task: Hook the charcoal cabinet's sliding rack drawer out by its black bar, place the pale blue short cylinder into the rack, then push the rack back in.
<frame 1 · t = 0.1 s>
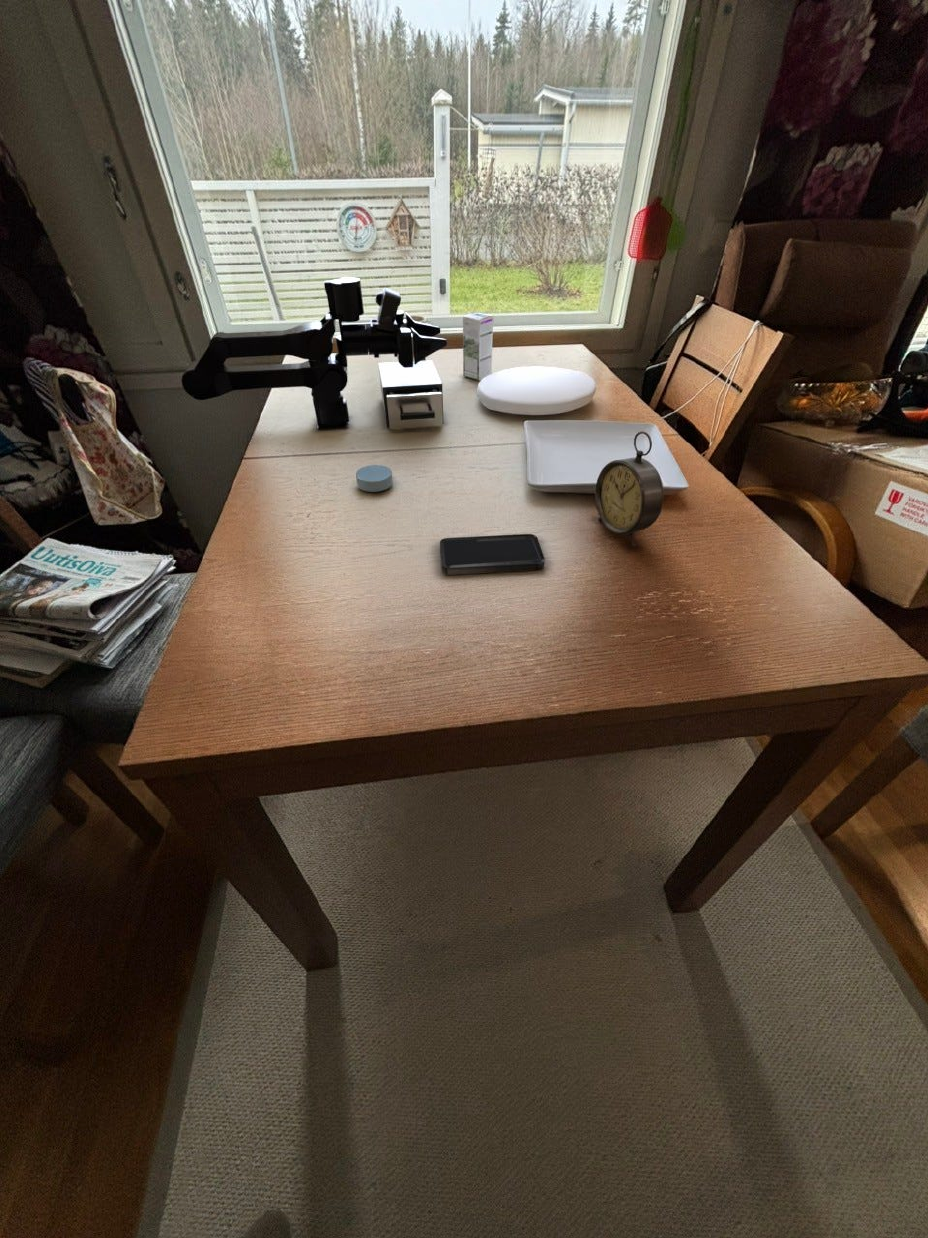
hand: (443, 335, 104), 17 cm above the table, tool horizontal, fingers open, 9 cm apart
square plate: (594, 468, 97), on the table
syrup box: (477, 377, 136), on the table
character mug: (415, 373, 138), on the table
drawer: (413, 402, 110), point 4 cm above the table, slide at 2.0 cm
phone: (490, 557, 75), on the table
alarm clock: (620, 533, 81), on the table
pale blue short cylinder: (375, 486, 91), on the table
white rounded disc: (534, 403, 122), on the table
cabinet: (411, 412, 117), on the table
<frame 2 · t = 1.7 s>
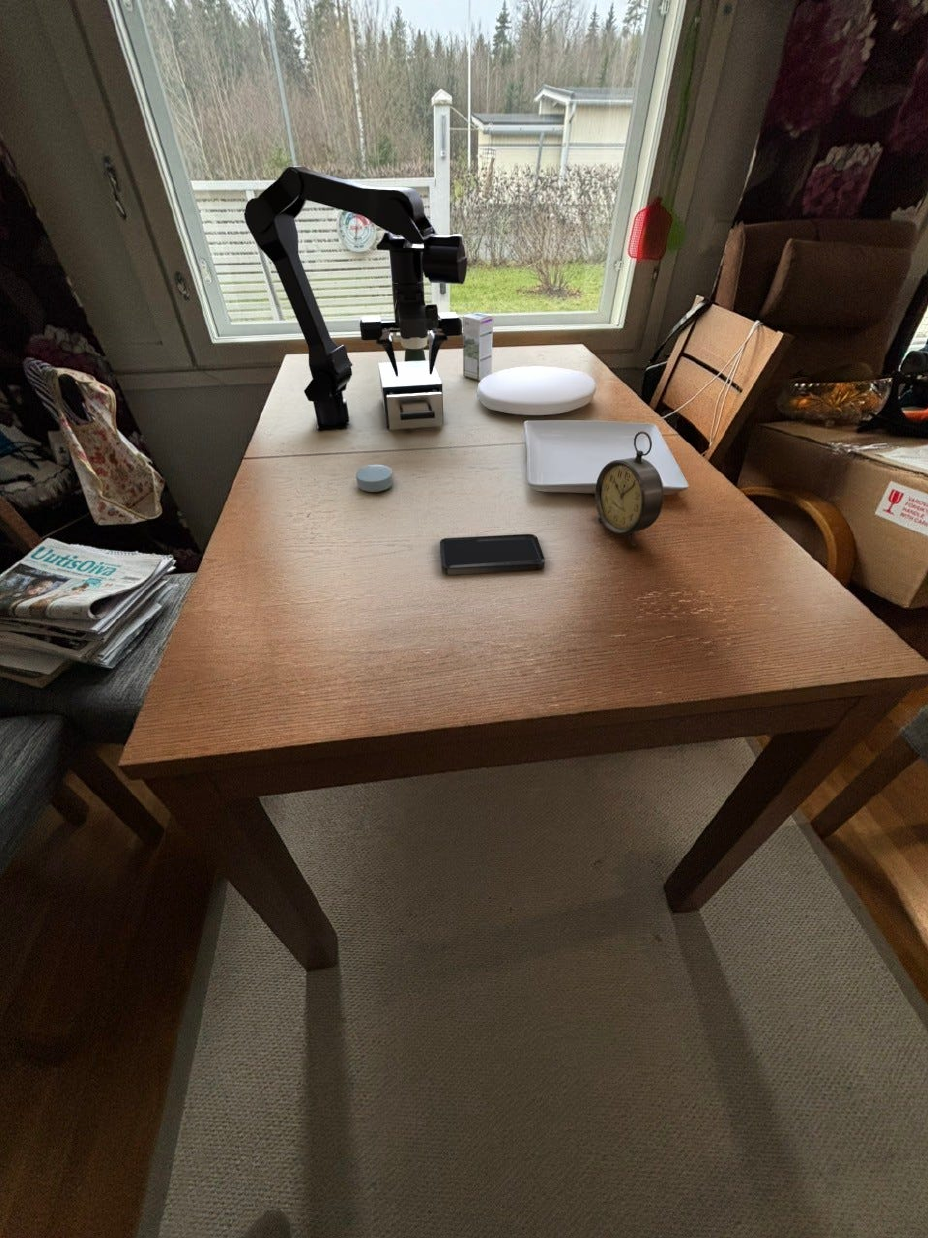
hand: (413, 374, 100), 12 cm above the table, tool pointing down, fingers open, 6 cm apart
nothing on the table moved.
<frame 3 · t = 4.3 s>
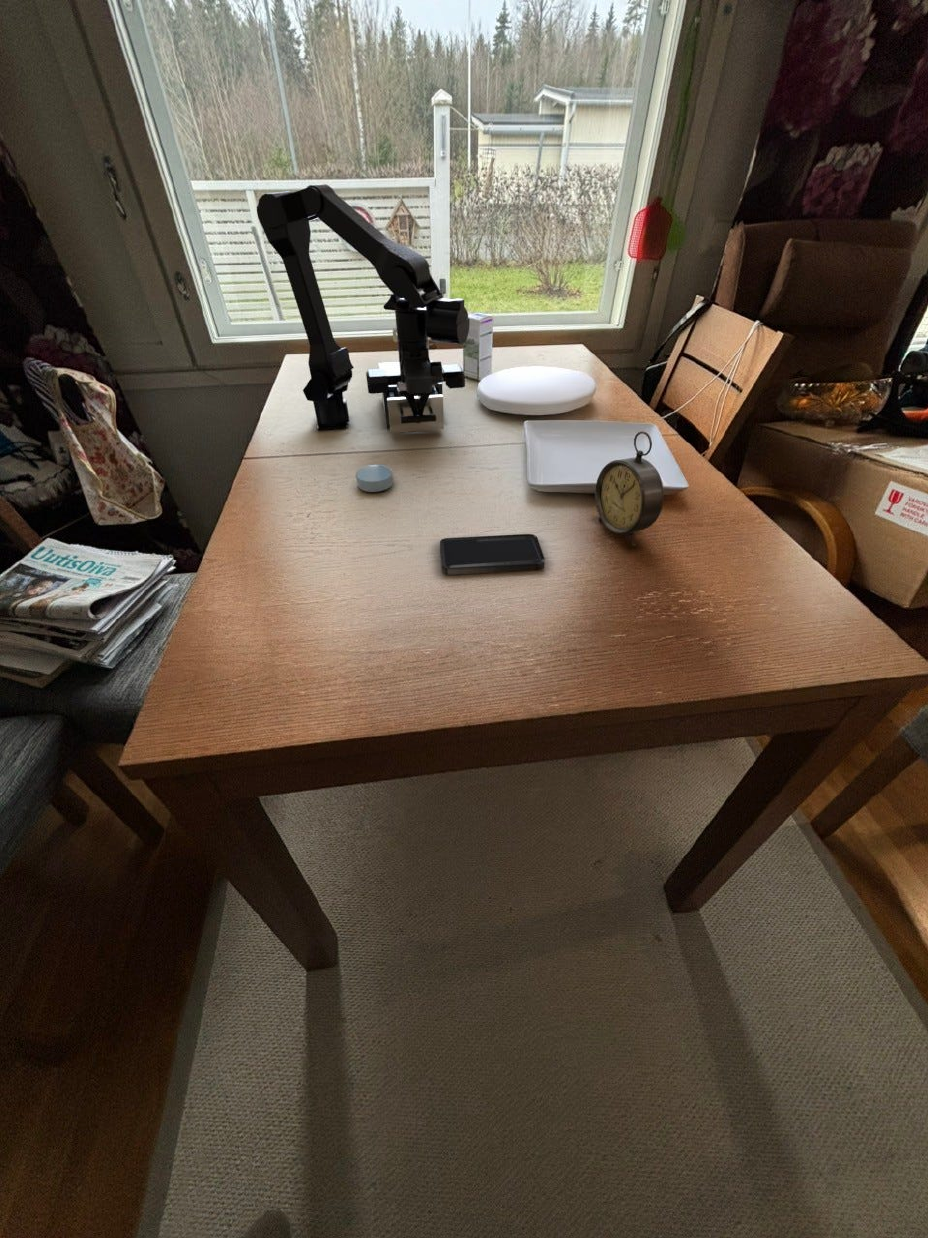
hand: (418, 422, 103), 4 cm above the table, tool pointing down, fingers closed, pressing on drawer
drawer: (413, 405, 108), point 4 cm above the table, slide at 3.7 cm, touching gripper
everything else where it was.
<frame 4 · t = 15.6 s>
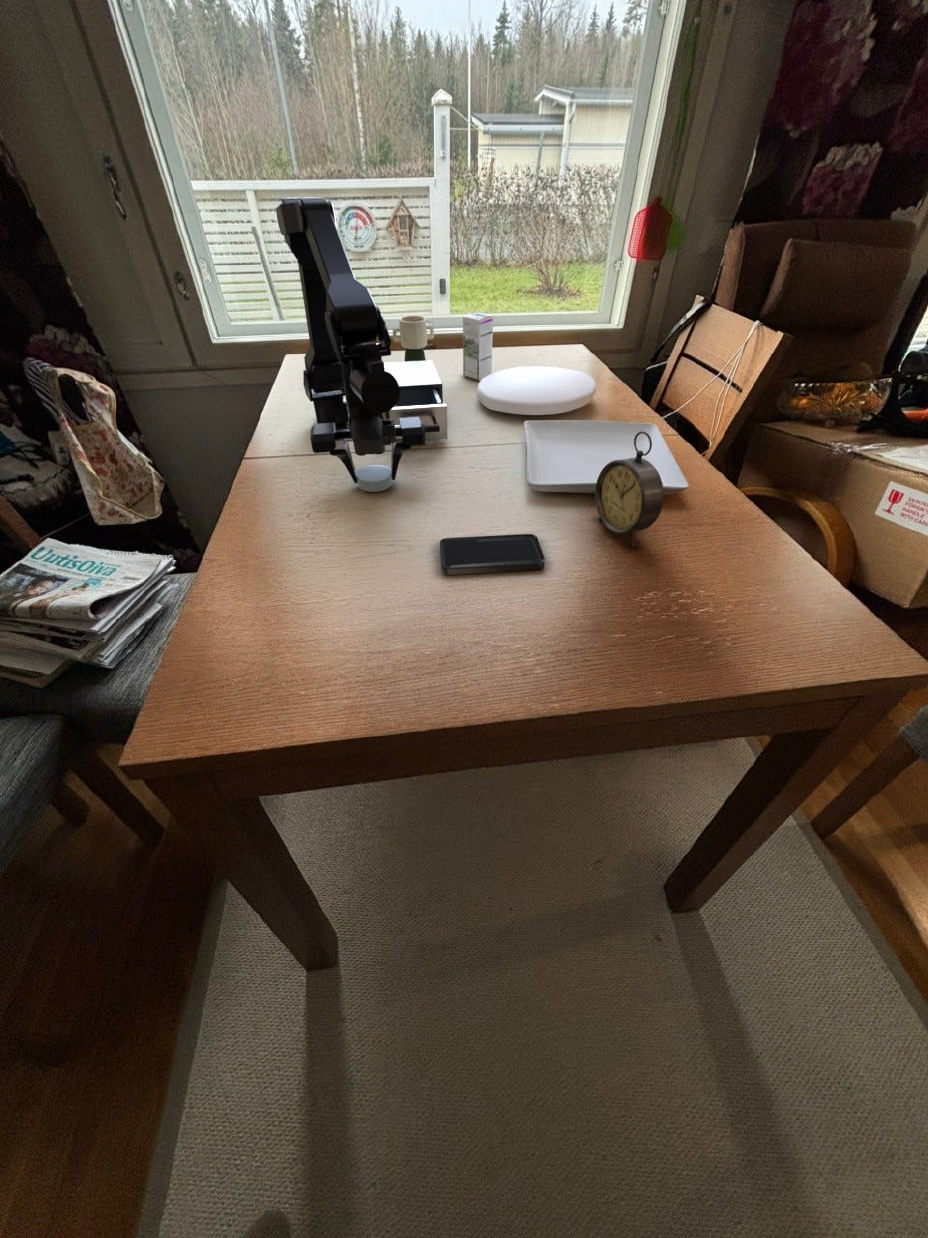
hand: (374, 480, 91), 1 cm above the table, tool pointing down, fingers closed on pale blue short cylinder, 6 cm apart
drawer: (416, 414, 105), point 4 cm above the table, slide at 8.9 cm
pale blue short cylinder: (375, 486, 91), on the table, touching gripper
everything else where it was.
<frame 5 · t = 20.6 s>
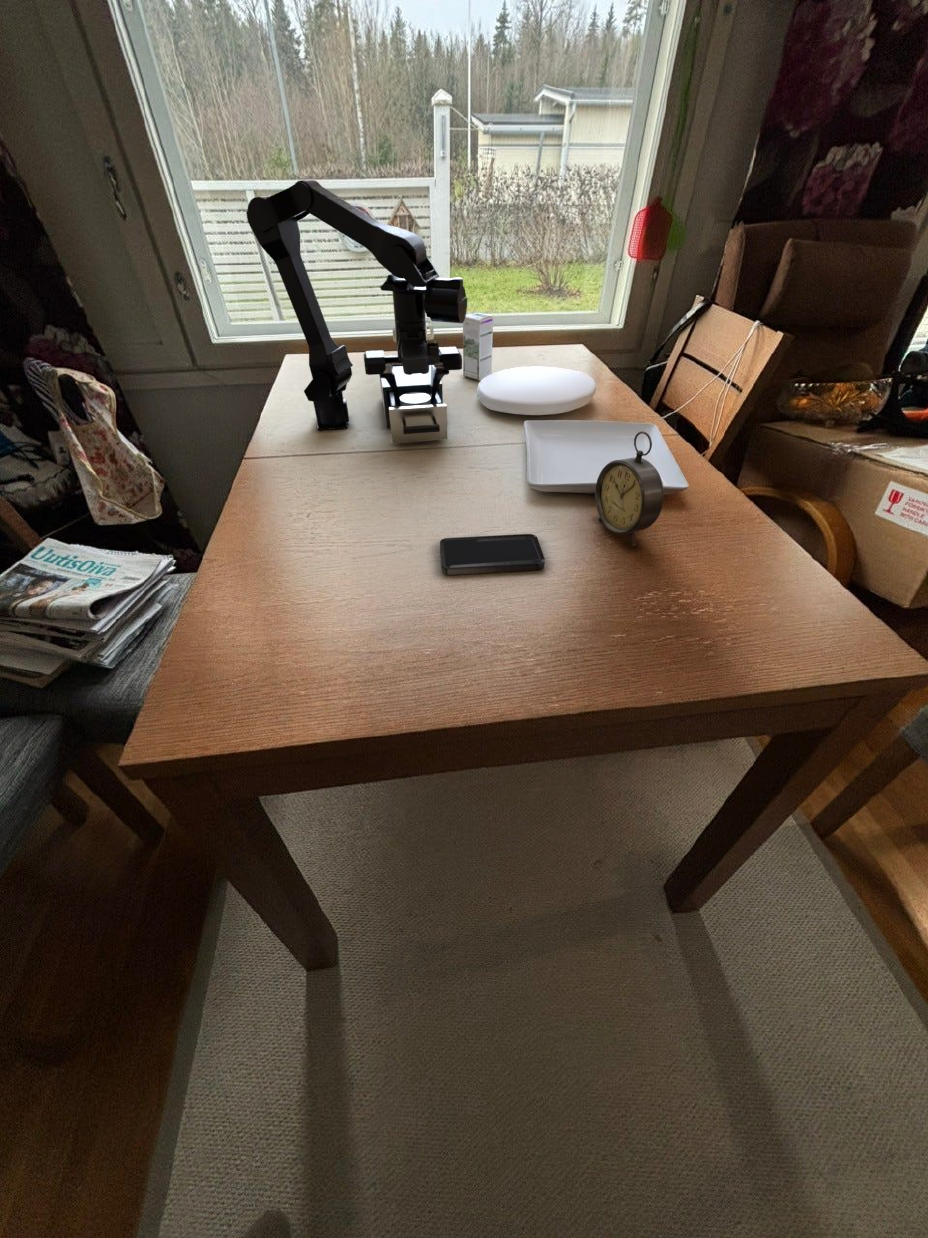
hand: (415, 405, 104), 6 cm above the table, tool pointing down, fingers closed on pale blue short cylinder, 6 cm apart
drawer: (416, 414, 105), point 4 cm above the table, slide at 8.9 cm, touching gripper
pale blue short cylinder: (416, 410, 104), point 5 cm above the table, touching gripper
everything else where it was.
when the fingers open (9 cm above the table, at t = 37.8 s): pale blue short cylinder drops 6 cm, resting on drawer.
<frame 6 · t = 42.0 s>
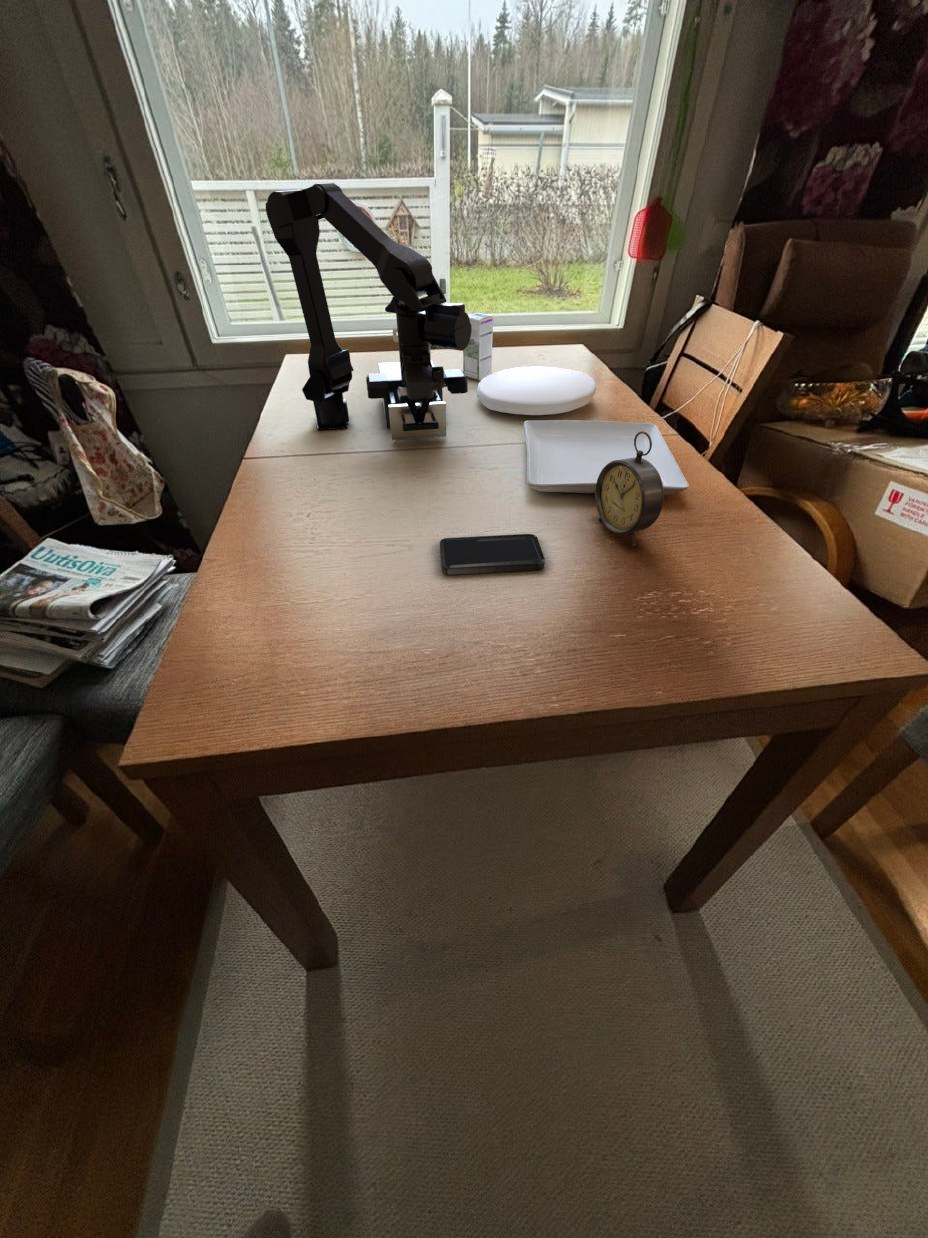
hand: (419, 428, 101), 4 cm above the table, tool pointing down, fingers closed
drawer: (415, 412, 106), point 4 cm above the table, slide at 7.5 cm, touching gripper, pale blue short cylinder
pale blue short cylinder: (416, 422, 107), point 2 cm above the table, touching drawer
everything else where it was.
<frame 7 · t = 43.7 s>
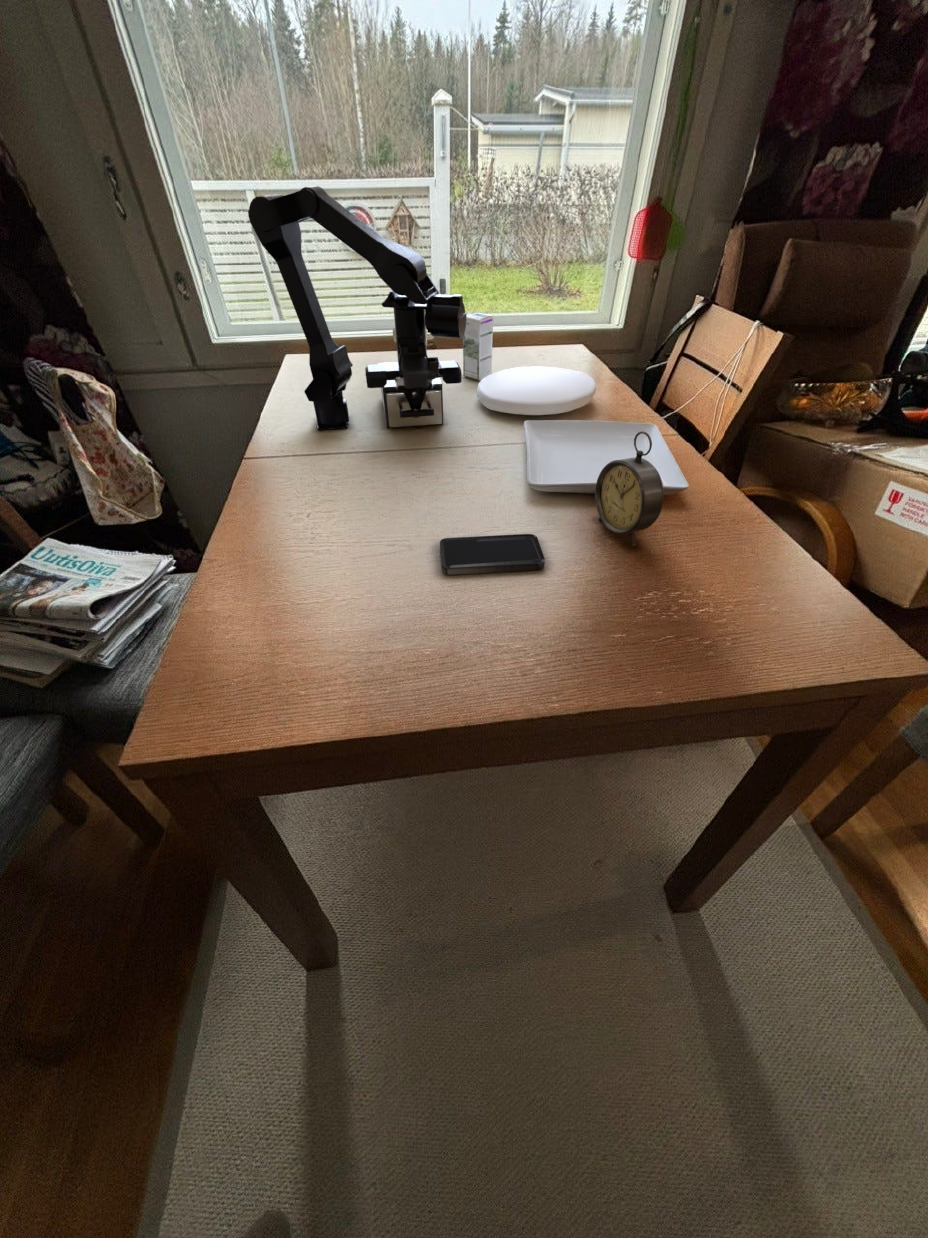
hand: (416, 417, 106), 3 cm above the table, tool pointing down, fingers closed, pressing on drawer
drawer: (412, 400, 111), point 4 cm above the table, slide at 0.7 cm, touching gripper, pale blue short cylinder
pale blue short cylinder: (413, 410, 112), point 2 cm above the table, touching drawer
everything else where it was.
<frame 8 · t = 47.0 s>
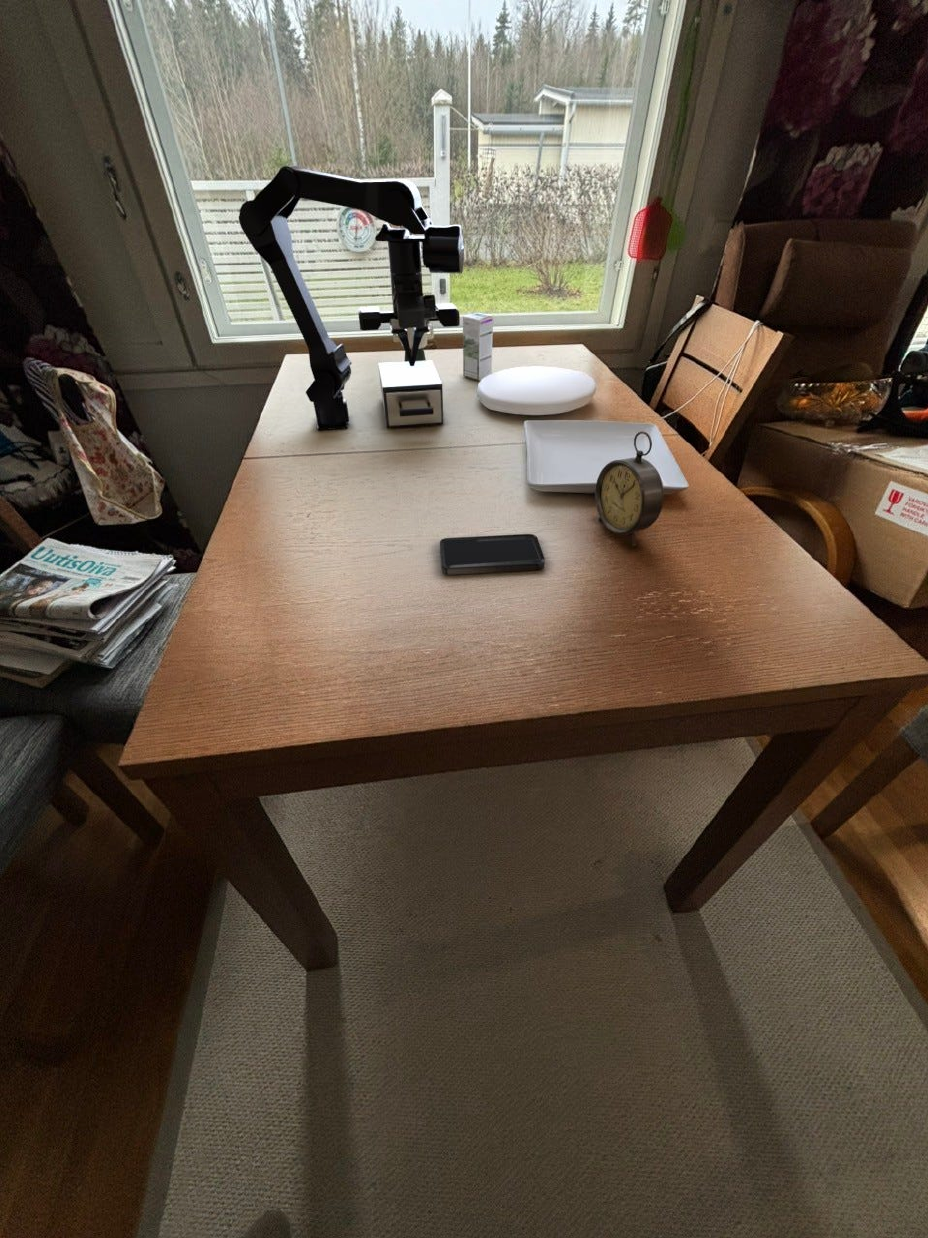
hand: (412, 365, 101), 13 cm above the table, tool pointing down, fingers closed
drawer: (412, 399, 111), point 4 cm above the table, slide at 0.0 cm, touching cabinet, pale blue short cylinder
everything else where it was.
at the end: pale blue short cylinder inside the target area in the cabinet (4.0 cm from its centre), point 2.0 cm above the cabinet's base; drawer slide at 0.0 cm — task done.
